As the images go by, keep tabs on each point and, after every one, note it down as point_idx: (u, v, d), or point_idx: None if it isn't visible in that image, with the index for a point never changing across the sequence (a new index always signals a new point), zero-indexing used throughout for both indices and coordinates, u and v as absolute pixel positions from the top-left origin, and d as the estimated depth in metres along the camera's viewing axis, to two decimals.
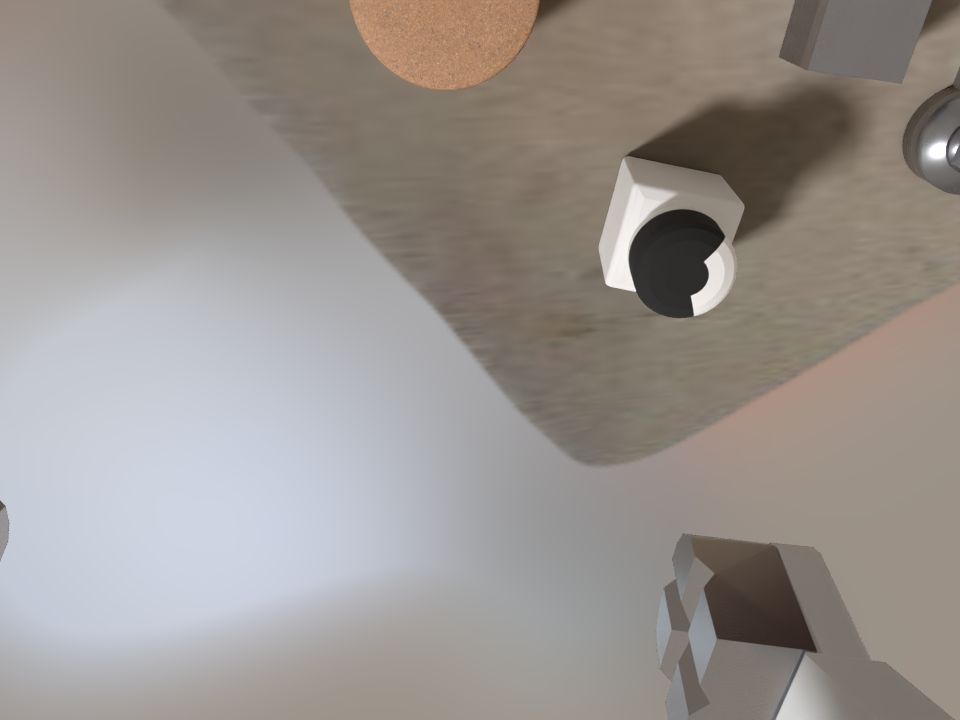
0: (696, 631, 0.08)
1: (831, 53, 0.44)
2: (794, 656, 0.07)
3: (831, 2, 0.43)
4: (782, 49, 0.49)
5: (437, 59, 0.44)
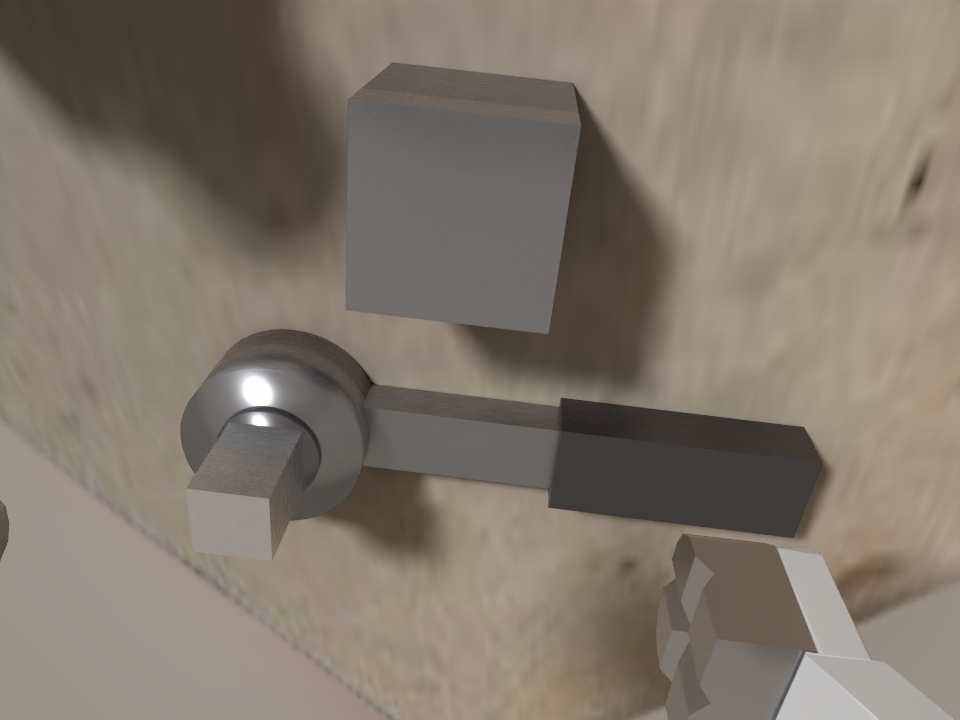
0: (696, 631, 0.08)
1: (391, 148, 0.19)
2: (794, 656, 0.07)
3: (500, 123, 0.18)
4: (407, 65, 0.23)
5: None
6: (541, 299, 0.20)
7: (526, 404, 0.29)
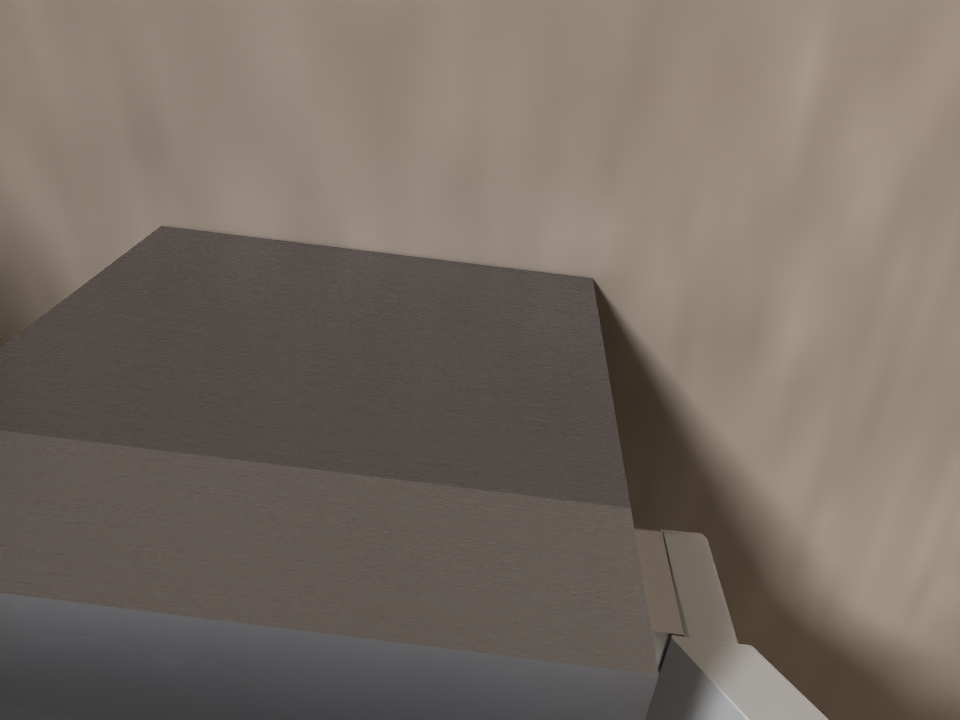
0: None
1: None
2: (662, 640, 0.07)
3: (338, 652, 0.05)
4: (190, 238, 0.10)
5: None
6: None
7: None
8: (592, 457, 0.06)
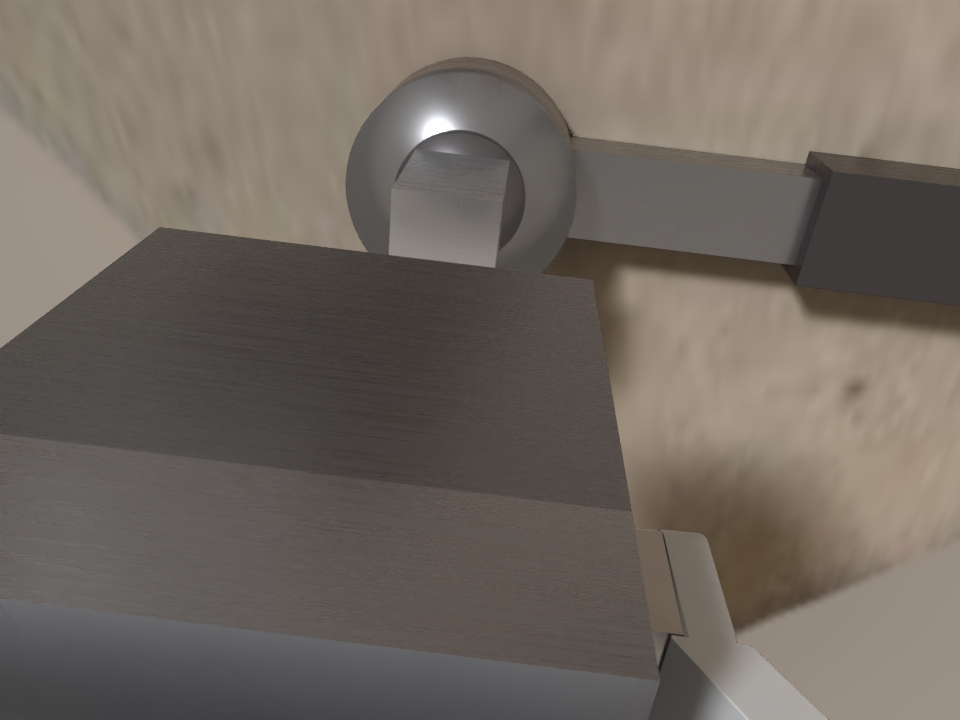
0: None
1: None
2: (662, 640, 0.07)
3: (336, 658, 0.05)
4: (189, 239, 0.09)
5: None
6: None
7: (765, 160, 0.23)
8: (592, 460, 0.06)
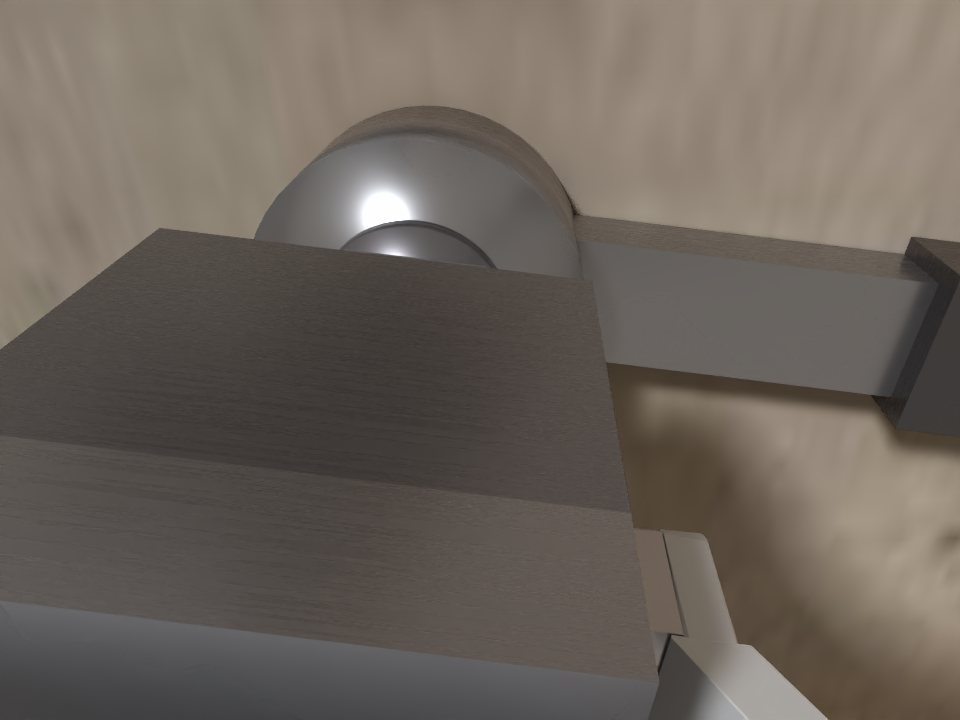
0: None
1: None
2: (662, 639, 0.07)
3: (336, 660, 0.05)
4: (189, 240, 0.09)
5: None
6: None
7: (848, 249, 0.16)
8: (592, 461, 0.06)
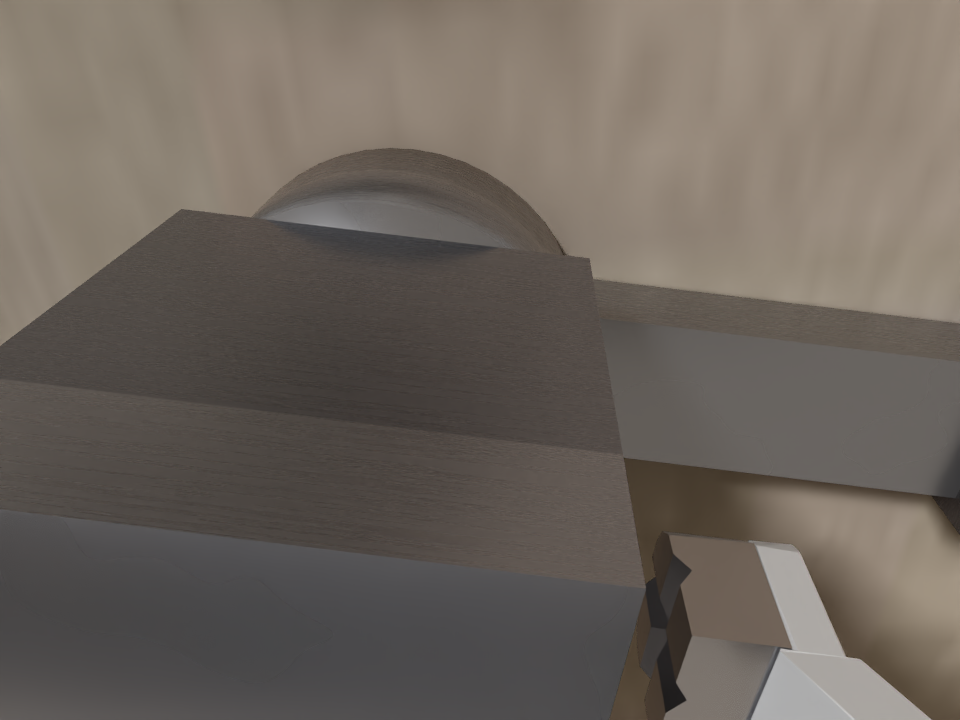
0: (673, 628, 0.08)
1: (4, 617, 0.06)
2: (769, 653, 0.07)
3: (360, 571, 0.05)
4: (210, 220, 0.10)
5: None
6: None
7: (903, 319, 0.14)
8: (588, 412, 0.07)
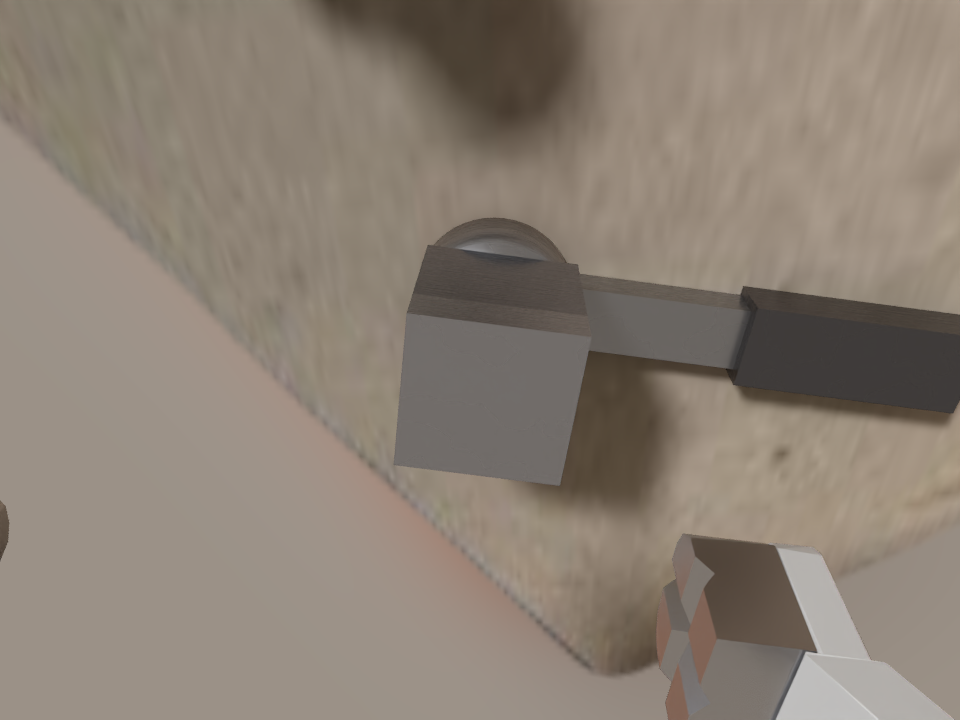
0: (696, 631, 0.08)
1: (439, 348, 0.23)
2: (794, 656, 0.07)
3: (527, 333, 0.23)
4: (440, 249, 0.28)
5: None
6: (555, 460, 0.25)
7: (711, 292, 0.31)
8: (578, 307, 0.25)
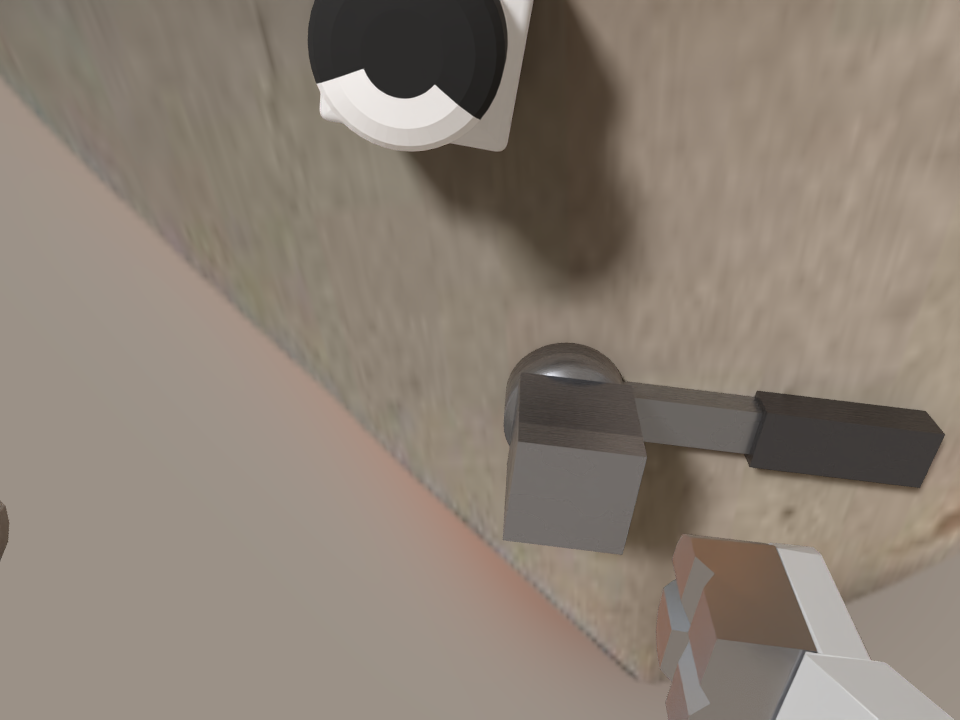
0: (696, 631, 0.08)
1: (539, 464, 0.33)
2: (794, 656, 0.07)
3: (602, 454, 0.33)
4: (530, 376, 0.38)
5: None
6: (619, 537, 0.35)
7: (732, 395, 0.41)
8: (635, 429, 0.34)
